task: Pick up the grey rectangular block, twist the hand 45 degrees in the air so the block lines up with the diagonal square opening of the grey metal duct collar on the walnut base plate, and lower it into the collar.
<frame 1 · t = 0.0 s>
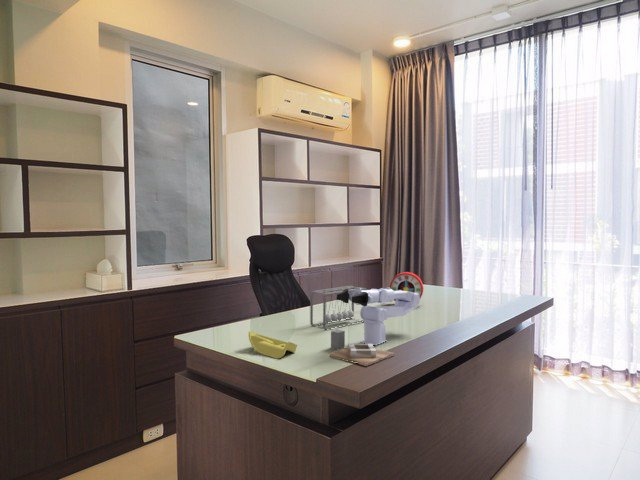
hand: (344, 298, 180), 22 cm above the table, tool horizontal, fingers open, 7 cm apart
plastic component: (271, 352, 182), on the table
toy clock: (406, 305, 279), on the table
duct base: (361, 355, 177), on the table
grey rectangular block: (337, 347, 188), on the table
newton's cradle: (339, 324, 229), on the table
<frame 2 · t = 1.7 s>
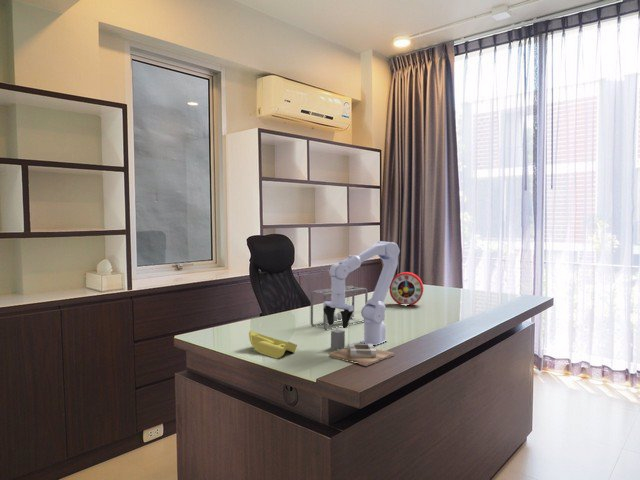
hand: (337, 326, 187), 9 cm above the table, tool pointing down, fingers open, 7 cm apart
nothing on the table moved.
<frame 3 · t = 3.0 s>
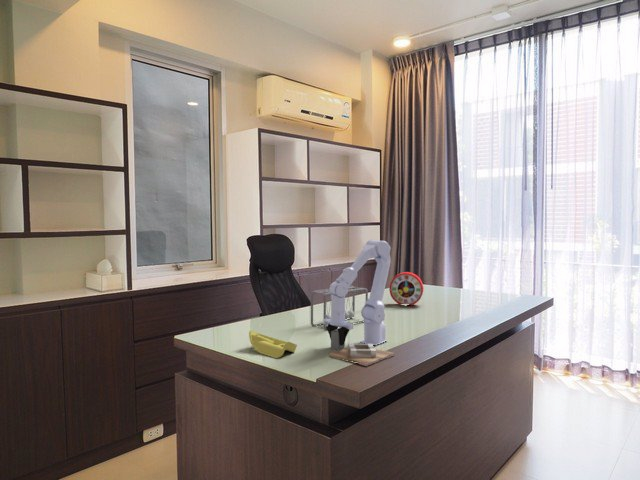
hand: (337, 343, 188), 2 cm above the table, tool pointing down, fingers closed on grey rectangular block, 4 cm apart
grey rectangular block: (337, 347, 188), on the table, touching gripper
everything else where it was.
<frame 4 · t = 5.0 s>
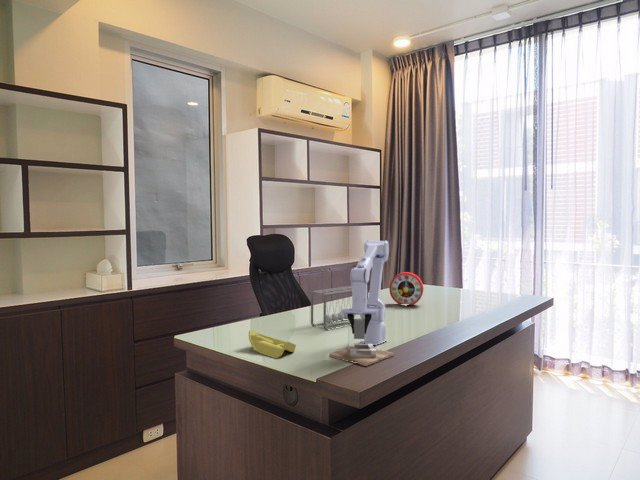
hand: (359, 333, 178), 9 cm above the table, tool pointing down, fingers closed on grey rectangular block, 4 cm apart
grey rectangular block: (359, 337, 178), point 7 cm above the table, touching gripper
everything else where it was.
when the fingers open (4 cm above the table, at t = 7.0 s): grey rectangular block drops 1 cm, resting on duct base.
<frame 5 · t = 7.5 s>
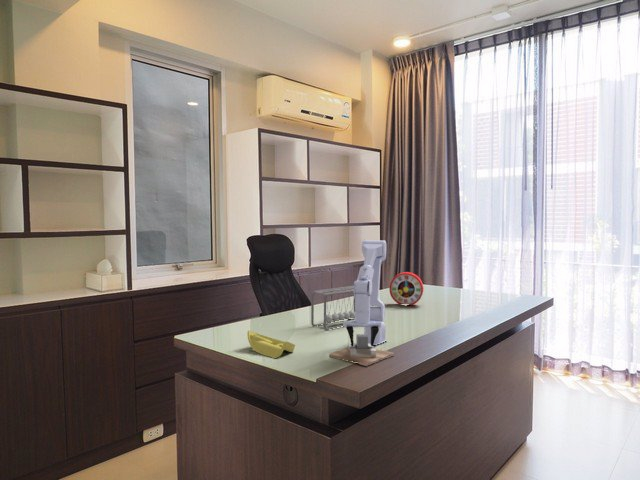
hand: (362, 345, 177), 4 cm above the table, tool pointing down, fingers open, 7 cm apart
grey rectangular block: (361, 353, 177), point 1 cm above the table, touching duct base
everything else where it was.
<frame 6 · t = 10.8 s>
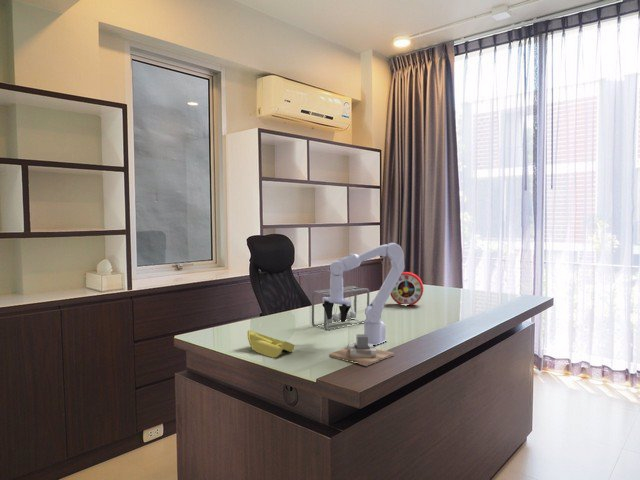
hand: (336, 320, 196), 9 cm above the table, tool pointing down, fingers open, 7 cm apart
at the end: grey rectangular block 0.1 cm off-centre on the duct base, point 1.0 cm above the duct base's base; grey rectangular block tilted 0°; the gripper is holding nothing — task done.
